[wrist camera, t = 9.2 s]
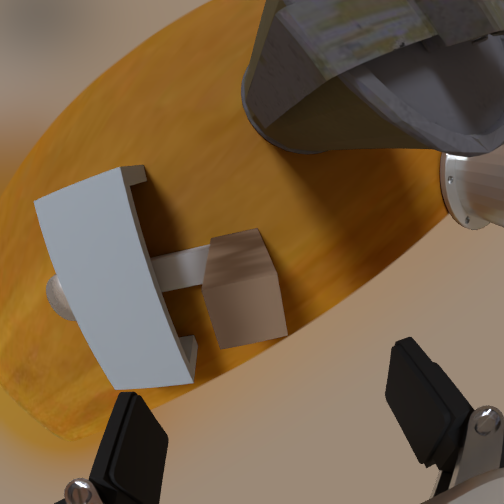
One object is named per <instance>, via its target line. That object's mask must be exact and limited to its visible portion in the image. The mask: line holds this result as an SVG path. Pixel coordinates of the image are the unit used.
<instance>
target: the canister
mask: <svg viewBox="0 0 504 504" xmlns="http://www.w3.org/2000/svg"><path fill="white" fill-rule="evenodd" d="M241 97H242V103H243V107H244V110H245V112H246V115H247V117H248V119H249V121H250V122H251V124H252V125H253V126H254V128H255V129H256V130H257V132H258V133H259V134H260V135H261V136H262V137H263V138H265V139H266V140H267V141H269V142H270V143H272V144H274V145H276V146H278V147H280V148H282V149H284V150H286V151H290V152H294V153H299V154H316V153H321V152H325V151H328V150H343V149H375V148H410V149H434V150H437V151H440V152H443V153H446V154H449V155H454V156H462V157H475V156H480V155H484V154H487V153H490V152H492V151H494V150H495V149H497V148H498V147H500V146H502V145H503V144H504V0H266V3H265V7H264V10H263V14H262V17H261V21H260V25H259V29H258V32H257V36H256V40H255V44H254V48H253V52H252V56H251V60H250V64H249V65H248V67H247V69H246V71H245V74H244V76H243V80H242V87H241Z"/></svg>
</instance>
